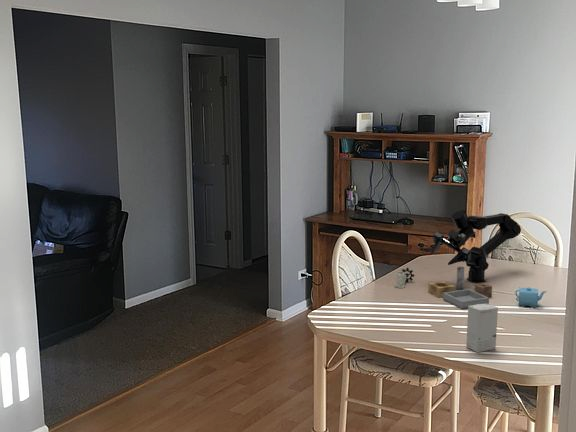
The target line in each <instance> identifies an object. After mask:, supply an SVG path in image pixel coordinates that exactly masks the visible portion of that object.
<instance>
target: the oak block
mask: <svg viewBox="0 0 576 432" xmlns="http://www.w3.org/2000/svg"><path fill="white" fill-rule="evenodd" d="M427 285H428V287H427V288H428V290H427V292H428V294H431V295H433V296H434V297H436V298H443V293H445V292H452V291H456V286H455V285H453V284H451V283H450V282H447V281H443V280H442V281H436V282H431V283H430V282H429V283H428V284H427Z"/></svg>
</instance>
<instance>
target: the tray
mask: <svg viewBox="0 0 576 432" xmlns="http://www.w3.org/2000/svg"><path fill="white" fill-rule="evenodd" d="M442 300H443V301H445V302H447V303H449V304H450V305H452V306H454V307H457V308H459V309H461V310H466V309H468V306H471V305H476V304H486V303H487V304H490V298H488V297H486V296H483V295H481V294H479V293H477V292H475V290H472V289H470V288H467V289H463V290H455V291H452V292H445V293H443V297H442Z"/></svg>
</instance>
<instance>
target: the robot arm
mask: <svg viewBox="0 0 576 432" xmlns="http://www.w3.org/2000/svg"><path fill="white" fill-rule="evenodd" d="M451 219H452V221H453V223H454V226H455V227H456V229H458V231H457V230H454V229H453V228H451V229H450V230H449V232H448V233H447V234H446V235H447V236H448V237H447V240H446V239H445V235H444V234H442V233H440V232H439V231H436V232H434V233H433V234H432V237H433V243H434V245H433V248H432V250H431V252H430V255H434V254H435V253H436V252H437V251H438V250H439V249H440V248H441V246H442V245H445V246H447V247H448V248H450V249H451V250H453V251H455V252H456V254H455V256H454V257H453V258H451V260H450V259H449V262H448V263H447V265H448V266H450V265H454V264H456V263H461V262H463V263H465V265H466V267H469V269H468V274H467V275H468V276H467V277H466V280H468V281H470V282H472V283H475V284H479V283H486V282H487V279H485V272H486V271H487V270H488V268H489V265H490V264H489V263H488V261H487V258H488V256H489V255H490V254H491V253H493V252H494V251H495V250H496V249H497V248H499V247H500V246H501V245H502V244H504V243H505V242H506V241H507V240H512V239H515V238H517V237H518V236H519V235H520V234H521V232H522V229H521V225H520V224H519V223H518V222H516V220H514V219H513V218H512V217H511V216H510V215H509V214H506V213H502V212H501V213H497V214H492V215H485V216H484V215H483V216H480V215H479V216H478V215H469V216H468V214H467V211H466V210H465V209H461V210H459V211H456V212H453V213H452V214H451ZM493 225H498V227H499V231H498V232H497V233H496V234H494V236H492V237H491V238H490V239H488V240H487V241H486V242H485V243H484V244H483V245H481V246H480V247H478V246H477V247H476V246H473V247H471V248H470V249H468V248H466V247H464V246H465V245H466V242H467V241H468V240H469V239H470V238H472V239H473V238H474V239H475V238H476V237H477V235H476V232H477V231H482V230H484V229H486V228H487V227H488V226H493ZM475 230H477V231H475ZM462 246H463V247H462Z"/></svg>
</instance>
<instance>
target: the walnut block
mask: <svg viewBox="0 0 576 432" xmlns="http://www.w3.org/2000/svg"><path fill="white" fill-rule="evenodd" d="M474 291H475V292H477V293H479V294H481V295H483V296H486V297H488V298H489V299H490V298H492V297H493V295H492V293H493V286H492V285H490V284H487V283H486V282H481V283H475V284H474Z"/></svg>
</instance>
